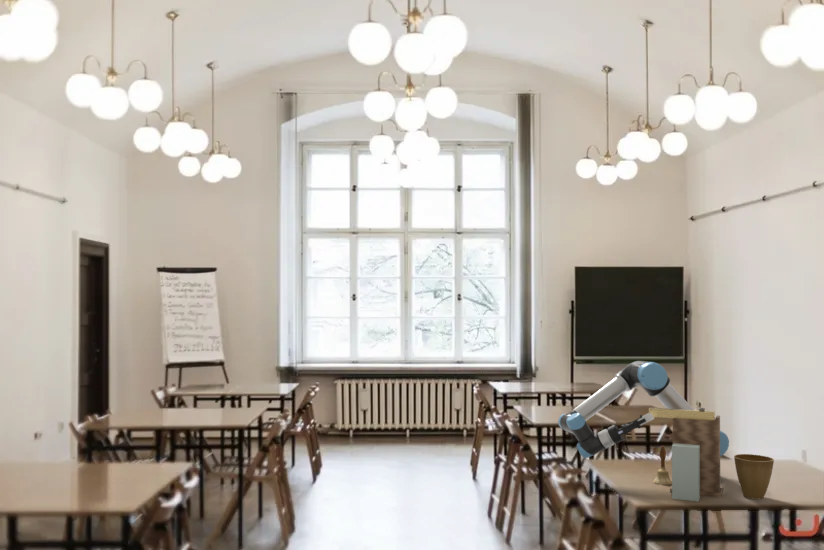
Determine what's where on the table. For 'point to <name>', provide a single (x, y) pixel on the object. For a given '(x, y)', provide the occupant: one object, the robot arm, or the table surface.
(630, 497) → the table surface
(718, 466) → the walnut stand
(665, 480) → the hand bell
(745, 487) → the plant pot
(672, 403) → the robot arm
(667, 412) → the brass bar
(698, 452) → the grey block
